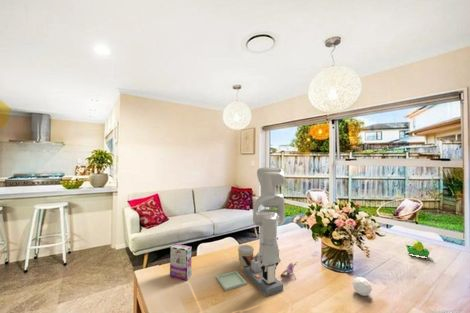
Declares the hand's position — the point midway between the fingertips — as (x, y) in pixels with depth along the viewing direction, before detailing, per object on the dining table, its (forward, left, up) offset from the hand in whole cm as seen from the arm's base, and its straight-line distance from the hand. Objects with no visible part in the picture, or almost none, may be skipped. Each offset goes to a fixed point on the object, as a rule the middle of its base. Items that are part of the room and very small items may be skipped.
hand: (268, 277), depth 102 cm
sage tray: (+15, -13, -6) cm, 21 cm away
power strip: (0, -6, -6) cm, 9 cm away
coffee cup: (+1, -22, -6) cm, 23 cm away
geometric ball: (-39, +23, -6) cm, 46 cm away
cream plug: (0, 0, -2) cm, 2 cm away
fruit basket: (-114, +15, -6) cm, 115 cm away
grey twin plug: (0, -12, -5) cm, 13 cm away
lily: (-17, -3, -6) cm, 18 cm away
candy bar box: (+38, -30, -6) cm, 49 cm away
